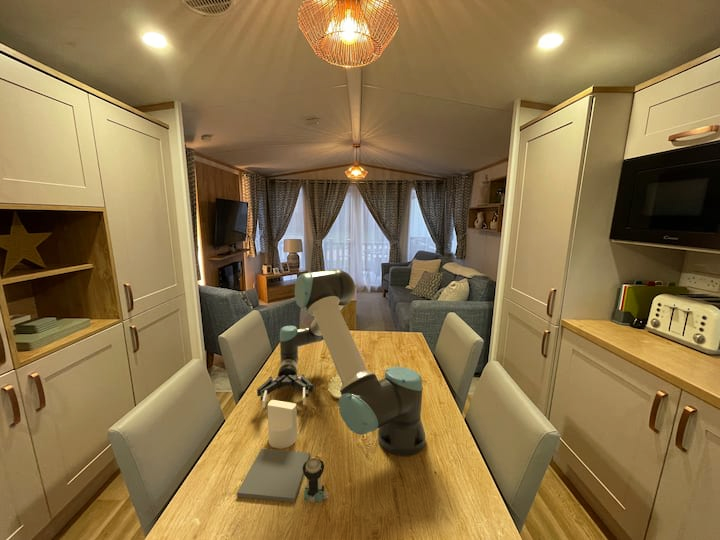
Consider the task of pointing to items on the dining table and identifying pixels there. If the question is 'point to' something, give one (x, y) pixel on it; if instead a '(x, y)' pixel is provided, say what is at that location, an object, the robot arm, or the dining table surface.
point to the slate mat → (274, 475)
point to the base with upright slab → (282, 423)
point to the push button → (314, 480)
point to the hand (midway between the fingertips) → (283, 402)
